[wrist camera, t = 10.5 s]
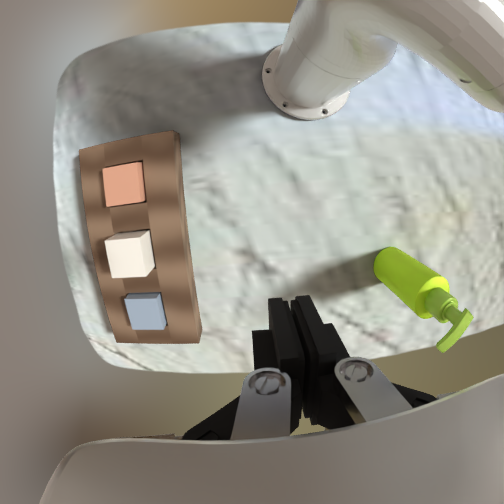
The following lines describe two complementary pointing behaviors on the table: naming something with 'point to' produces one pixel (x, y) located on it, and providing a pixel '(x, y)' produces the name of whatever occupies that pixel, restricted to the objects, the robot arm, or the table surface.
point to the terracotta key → (124, 184)
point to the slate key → (146, 311)
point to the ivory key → (130, 254)
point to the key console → (140, 219)
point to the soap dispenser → (422, 292)
